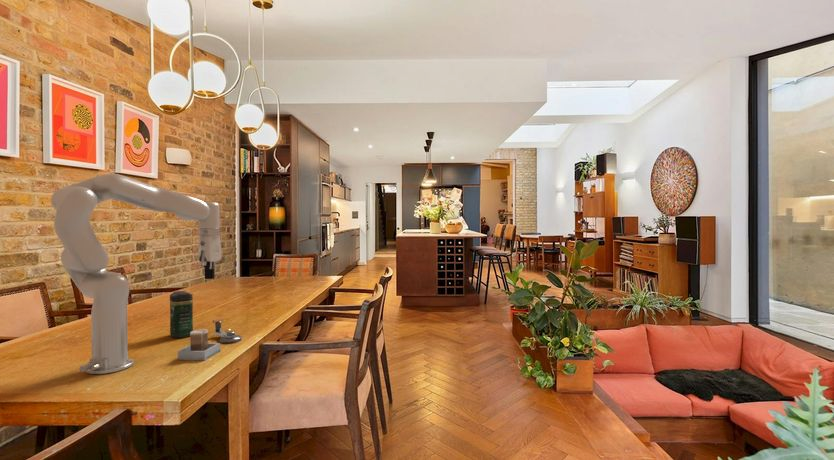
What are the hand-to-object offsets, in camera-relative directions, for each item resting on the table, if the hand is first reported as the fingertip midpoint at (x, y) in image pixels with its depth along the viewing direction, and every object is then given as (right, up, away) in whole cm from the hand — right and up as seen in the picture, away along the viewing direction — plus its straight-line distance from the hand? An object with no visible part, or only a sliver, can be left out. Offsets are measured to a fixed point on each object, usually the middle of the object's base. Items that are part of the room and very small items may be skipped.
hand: (209, 278), depth 165 cm
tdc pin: (+4, -25, +7) cm, 26 cm away
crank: (+4, -24, +4) cm, 24 cm away
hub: (+8, -25, +1) cm, 26 cm away
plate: (+4, -25, +7) cm, 26 cm away
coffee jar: (-16, -25, +8) cm, 31 cm away
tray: (+5, -26, -16) cm, 31 cm away
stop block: (+5, -25, -17) cm, 30 cm away
